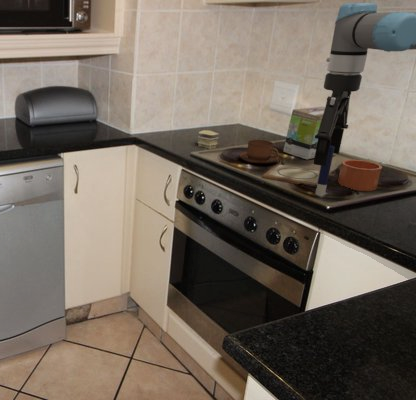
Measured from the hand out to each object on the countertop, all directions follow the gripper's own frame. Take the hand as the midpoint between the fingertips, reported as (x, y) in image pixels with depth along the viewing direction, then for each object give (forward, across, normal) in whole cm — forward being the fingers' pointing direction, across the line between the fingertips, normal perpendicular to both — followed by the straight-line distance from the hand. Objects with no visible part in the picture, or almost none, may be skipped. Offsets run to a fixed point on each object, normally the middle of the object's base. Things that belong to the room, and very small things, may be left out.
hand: (326, 158), depth 121 cm
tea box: (+10, -40, -12) cm, 43 cm away
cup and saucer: (+10, -21, -23) cm, 32 cm away
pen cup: (+10, -14, +6) cm, 18 cm away
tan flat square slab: (+10, -12, -9) cm, 18 cm away
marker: (+10, 0, 0) cm, 10 cm away
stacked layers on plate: (+10, -27, -43) cm, 51 cm away
